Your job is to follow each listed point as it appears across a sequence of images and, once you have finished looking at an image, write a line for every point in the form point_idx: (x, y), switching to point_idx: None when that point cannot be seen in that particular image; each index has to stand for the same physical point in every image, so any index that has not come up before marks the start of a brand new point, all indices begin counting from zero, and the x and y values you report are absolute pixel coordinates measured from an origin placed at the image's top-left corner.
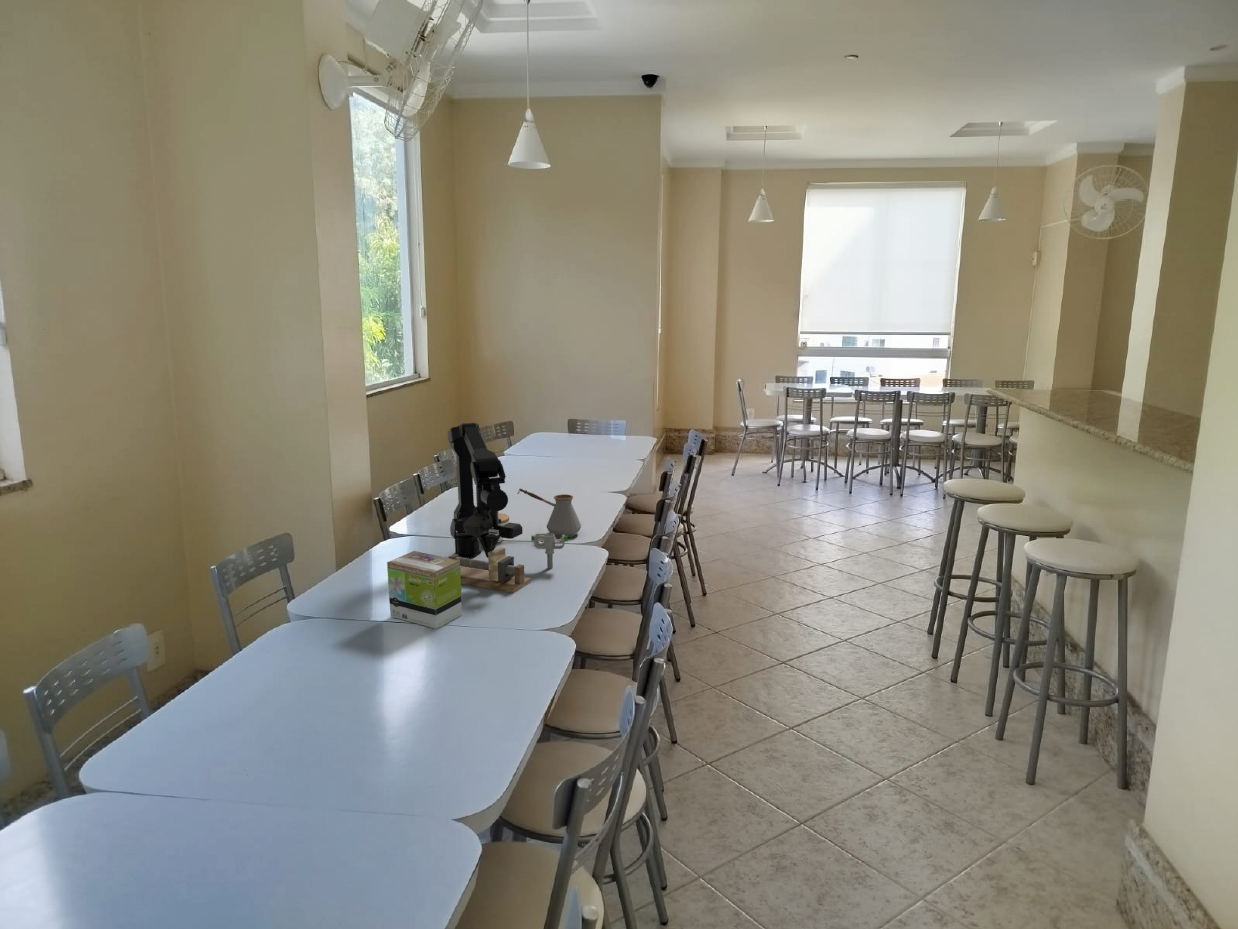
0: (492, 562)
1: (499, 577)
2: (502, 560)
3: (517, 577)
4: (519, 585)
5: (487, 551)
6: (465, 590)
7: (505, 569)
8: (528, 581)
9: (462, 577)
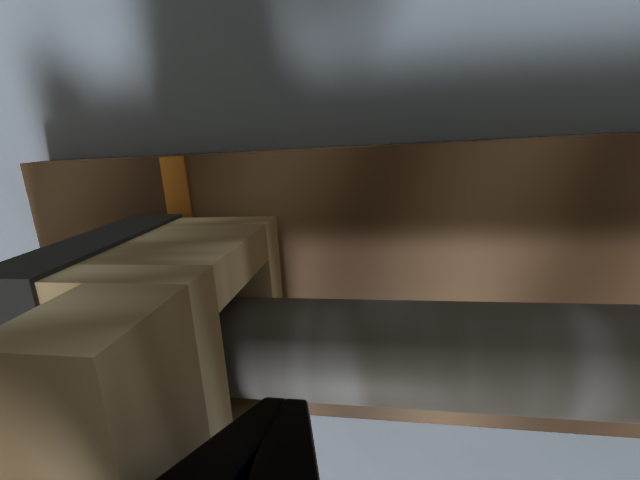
0: (130, 279)
1: (143, 223)
2: None
3: None
4: None
5: (232, 465)
6: (414, 12)
7: None
8: None
9: (592, 196)
